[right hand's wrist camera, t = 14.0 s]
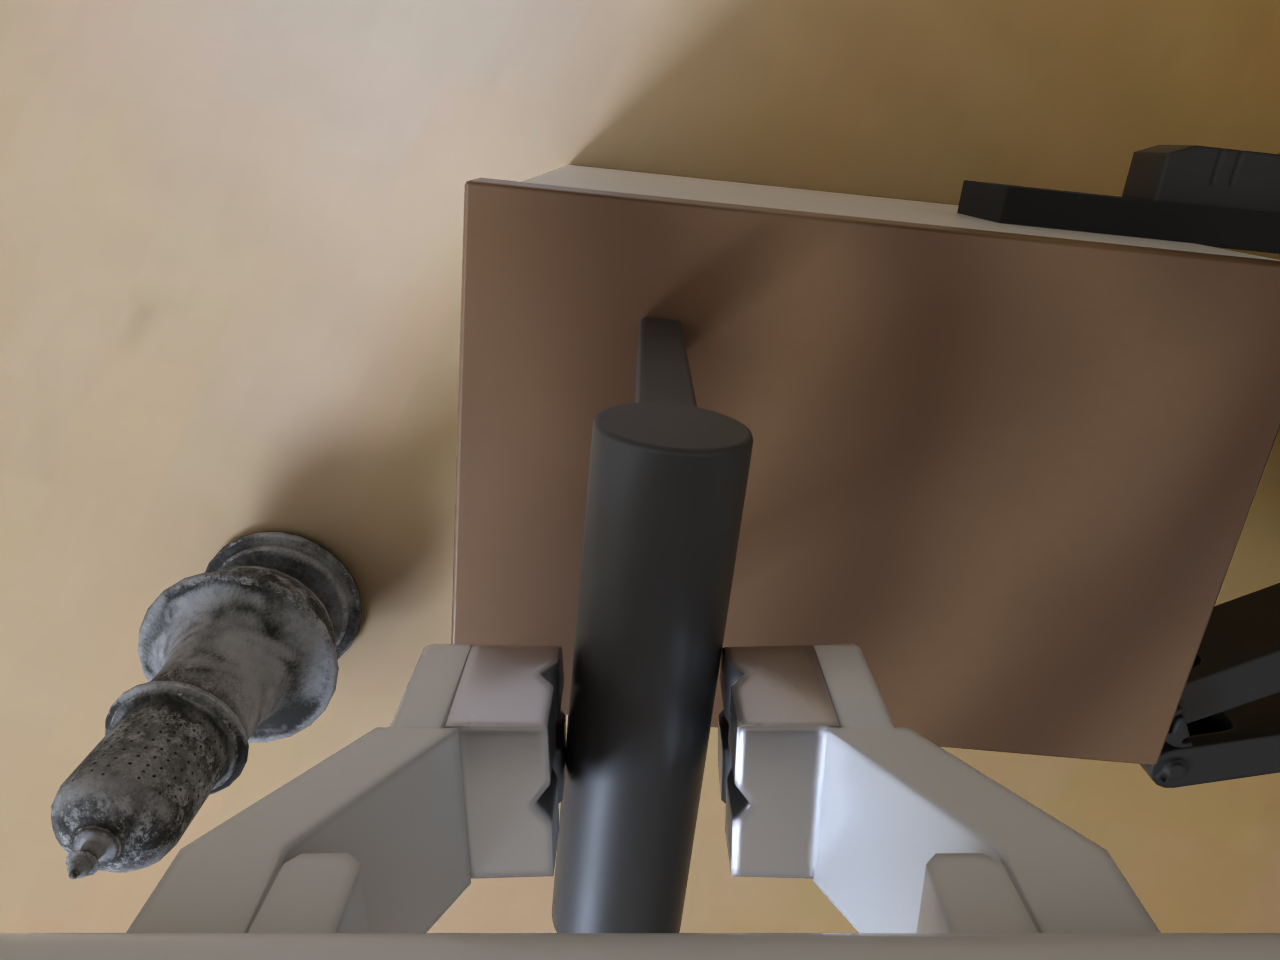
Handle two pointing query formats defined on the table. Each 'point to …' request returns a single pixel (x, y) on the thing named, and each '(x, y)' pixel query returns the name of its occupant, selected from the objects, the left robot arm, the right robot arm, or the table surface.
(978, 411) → the lid
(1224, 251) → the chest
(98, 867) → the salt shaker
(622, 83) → the table surface
